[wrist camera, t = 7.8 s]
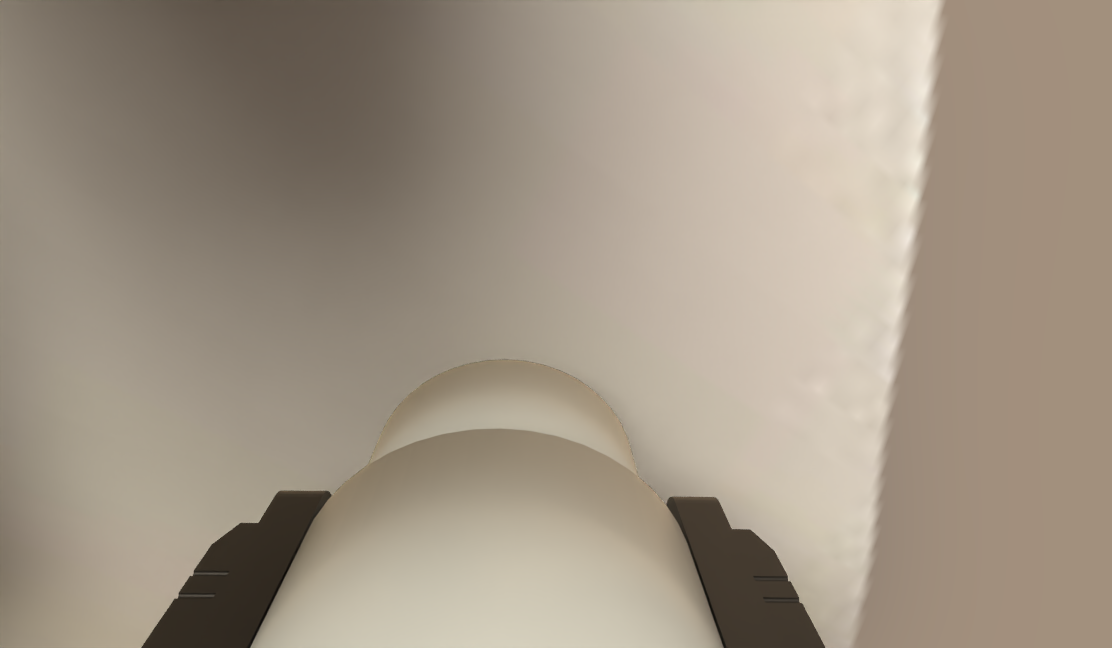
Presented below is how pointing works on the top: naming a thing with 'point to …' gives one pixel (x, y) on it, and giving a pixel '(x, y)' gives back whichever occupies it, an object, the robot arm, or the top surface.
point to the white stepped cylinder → (494, 531)
